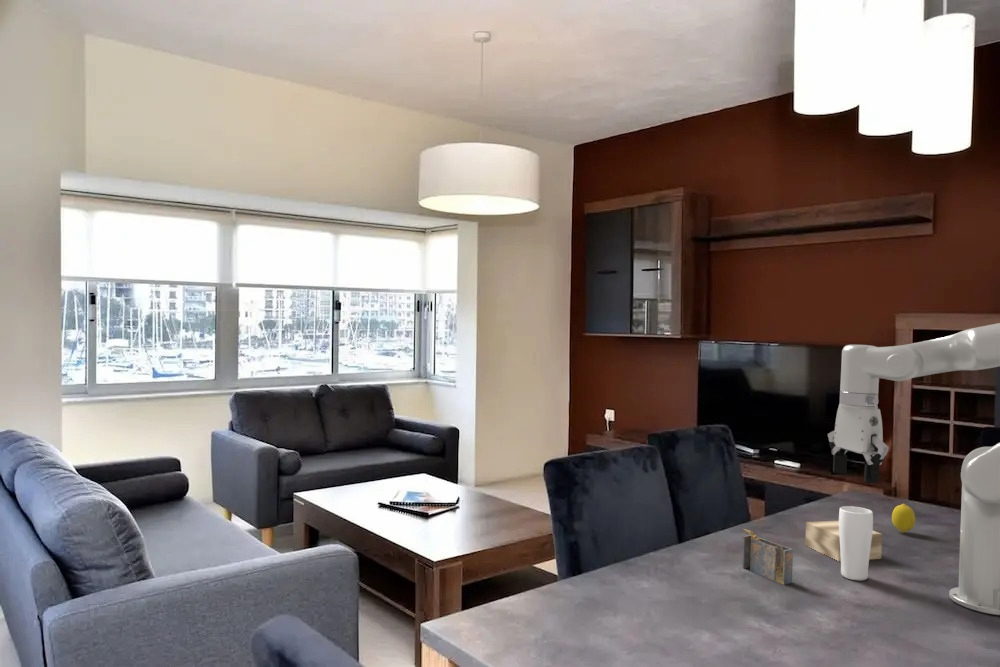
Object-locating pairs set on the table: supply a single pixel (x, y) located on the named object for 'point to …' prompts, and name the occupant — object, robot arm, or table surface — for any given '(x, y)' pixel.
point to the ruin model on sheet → (767, 558)
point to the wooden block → (835, 539)
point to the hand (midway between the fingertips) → (854, 477)
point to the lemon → (903, 518)
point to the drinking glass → (855, 541)
